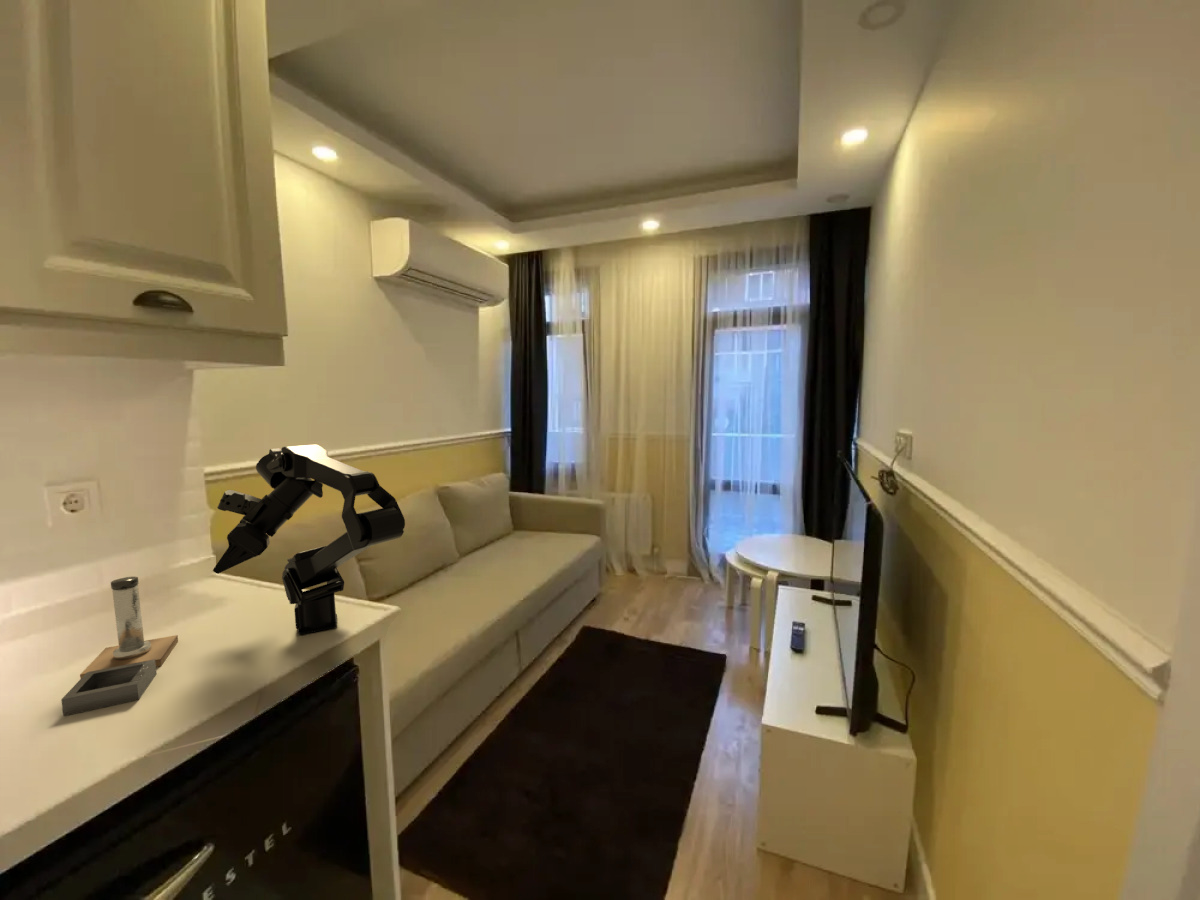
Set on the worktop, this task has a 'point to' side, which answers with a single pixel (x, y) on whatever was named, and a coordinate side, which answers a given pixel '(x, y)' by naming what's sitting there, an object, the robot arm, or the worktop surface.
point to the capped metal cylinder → (128, 619)
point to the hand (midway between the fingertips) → (220, 564)
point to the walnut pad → (157, 652)
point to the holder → (92, 698)
